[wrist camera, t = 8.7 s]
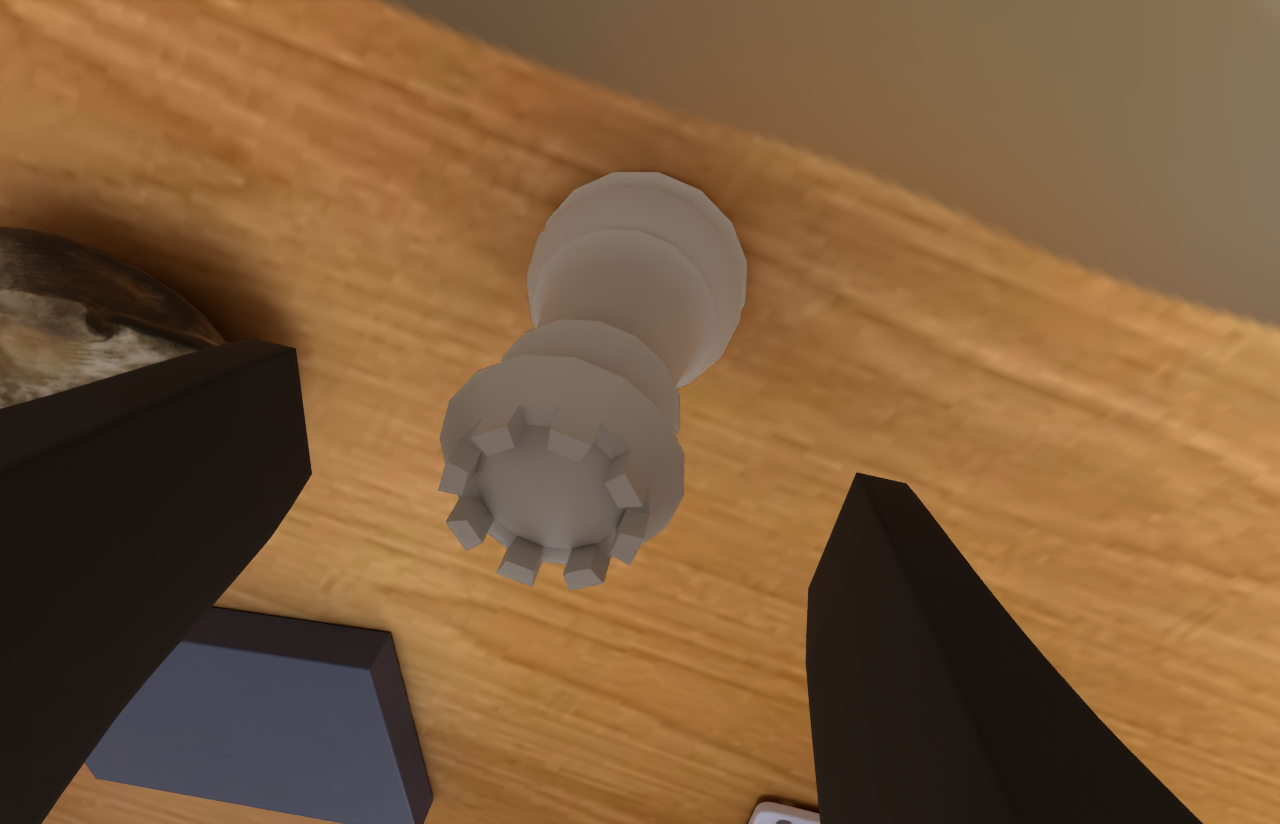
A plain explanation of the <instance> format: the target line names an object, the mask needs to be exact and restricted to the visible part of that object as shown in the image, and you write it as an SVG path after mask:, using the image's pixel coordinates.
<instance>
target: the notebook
mask: <svg viewBox="0 0 1280 824" xmlns="http://www.w3.org/2000/svg"><path fill="white" fill-rule="evenodd" d="M85 764H86V765H87V767H88V768H89V770H90V771H91V772H92V774H93V775H94V777H95V778H96V779H101V780H107V781H112V782H118V783H123V784H129V785H134V786H140V787H145V788H151V789H156V790H162V791H167V792H173V793H178V794H184V795H189V796H195V797H200V798H206V799H211V800H217V801H222V802H228V803H233V804H239V805H244V806H250V807H255V808H261V809H266V810H272V811H277V812H283V813H288V814H294V815H299V816H305V817H310V818H316V819H321V820H327V821H332V822H338V823H343V824H424V821H425V819H426V816H427V814H428V811H429V809H430V806H431V804H432V802H433V798H432V794H431V790H430V786H429V782H428V778H427V774H426V771H425V767H424V763H423V759H422V755H421V751H420V747H419V743H418V739H417V736H416V732H415V728H414V724H413V720H412V716H411V712H410V708H409V705H408V701H407V697H406V693H405V689H404V685H403V681H402V677H401V673H400V670H399V666H398V662H397V658H396V654H395V650H394V646H393V642H392V638H391V635H390V633H386V632H379V631H372V630H365V629H358V628H351V627H344V626H337V625H330V624H324V623H317V622H310V621H303V620H296V619H289V618H282V617H275V616H268V615H261V614H254V613H247V612H240V611H234V610H227V609H220V608H213V607H211V608H210V609H209V610H208V611H207V612H206V613H205V615H204V616H203V617H202V618H201V619H200V620H199V621H198V622H197V624H196V625H195V626H194V627H193V628H192V629H191V630H190V632H189V633H188V634H187V635H186V636H185V637H184V638H183V640H182V641H181V642H180V643H179V644H178V645H177V646H176V648H175V649H174V650H173V651H172V652H171V653H170V654H169V656H168V657H167V658H166V659H165V660H164V661H163V662H162V664H161V665H160V666H159V667H158V668H157V669H156V670H155V672H154V673H153V674H152V675H151V676H150V677H149V678H148V680H147V681H146V682H145V683H144V684H143V686H142V687H141V688H140V689H139V691H138V692H137V693H136V694H135V696H134V697H133V698H132V699H131V701H130V702H129V703H128V704H127V705H126V707H125V708H124V709H123V710H122V712H121V713H120V714H119V715H118V717H117V718H116V719H115V721H114V722H113V723H112V725H111V726H110V728H109V729H108V730H107V732H106V733H105V735H104V736H103V737H102V739H101V740H100V742H99V743H98V744H97V746H96V747H95V748H94V750H93V751H92V753H91V754H90V755H89V757H88V758H87V760H86V761H85Z"/></svg>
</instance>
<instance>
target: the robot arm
mask: <svg viewBox="0 0 1280 824" xmlns="http://www.w3.org/2000/svg"><path fill="white" fill-rule="evenodd" d="M311 475H312V471H311V463H310V455H309V447H308V439H307V432H306V424H305V416H304V408H303V401H302V393H301V385H300V377H299V370H298V362H297V354H296V348H292V347H287V346H283V345H278V344H274V343H269V342H265V341H260V340H256V339H251V338H250V339H245V340H240V341H235V342H230V343H226V344H222V345H218V346H214V347H210V348H206V349H203V350H199V351H196V352H192V353H188V354H185V355H182V356H178V357H175V358H171V359H168V360H165V361H161V362H158V363H155V364H151V365H148V366H145V367H141V368H138V369H135V370H131V371H128V372H125V373H122V374H118V375H115V376H112V377H108V378H105V379H102V380H98V381H95V382H92V383H88V384H85V385H82V386H78V387H75V388H72V389H69V390H65V391H62V392H59V393H55V394H52V395H48V396H45V397H41V398H38V399H34V400H30V401H27V402H23V403H20V404H16V405H12V406H9V407H5V408H1V409H0V824H42V822H43V821H44V819H45V818H46V816H47V815H48V813H49V812H50V810H51V809H52V807H53V806H54V804H55V803H56V802H57V800H58V799H59V797H60V796H61V794H62V793H63V792H64V790H65V789H66V787H67V786H68V785H69V783H70V782H71V780H72V779H73V778H74V776H75V775H76V773H77V772H78V771H79V769H80V768H81V767H82V765H83V764H84V762H85V761H86V760H87V758H88V757H89V755H90V754H91V753H92V751H93V750H94V748H95V747H96V746H97V744H98V743H99V742H100V740H101V739H102V737H103V736H104V735H105V733H106V732H107V730H108V729H109V728H110V726H111V725H112V723H113V722H114V721H115V719H116V718H117V717H118V715H119V714H120V713H121V712H122V710H123V709H124V708H125V707H126V705H127V704H128V703H129V702H130V701H131V699H132V698H133V697H134V696H135V694H136V693H137V692H138V691H139V689H140V688H141V687H142V686H143V684H144V683H145V682H146V681H147V680H148V678H149V677H150V676H151V675H152V674H153V673H154V672H155V670H156V669H157V668H158V667H159V666H160V665H161V664H162V662H163V661H164V660H165V659H166V658H167V657H168V656H169V654H170V653H171V652H172V651H173V650H174V649H175V648H176V646H177V645H178V644H179V643H180V642H181V641H182V640H183V638H184V637H185V636H186V635H187V634H188V633H189V632H190V630H191V629H192V628H193V627H194V626H195V625H196V624H197V622H198V621H199V620H200V619H201V618H202V617H203V616H204V615H205V613H206V612H207V611H208V610H209V609H210V608H211V607H212V605H213V604H214V603H215V602H216V601H217V600H218V599H219V597H220V596H221V595H222V594H223V593H224V592H225V591H226V589H227V588H228V587H229V586H230V585H231V584H232V582H233V581H234V580H235V579H236V578H237V577H238V575H239V574H240V573H241V572H242V571H243V570H244V568H245V567H246V566H247V565H248V564H249V563H250V561H251V560H252V559H253V558H254V557H255V556H256V554H257V553H258V552H259V551H260V550H261V549H262V547H263V546H264V545H265V544H266V543H267V541H268V540H269V539H270V538H271V537H272V535H273V534H274V532H275V531H276V529H277V528H278V526H279V525H280V523H281V522H282V520H283V519H284V517H285V516H286V514H287V513H288V511H289V510H290V508H291V507H292V505H293V504H294V502H295V500H296V499H297V497H298V496H299V494H300V492H301V491H302V489H303V488H304V486H305V484H306V483H307V481H308V480H309V478H310V476H311ZM806 671H807V684H808V696H809V707H810V719H811V730H812V741H813V751H814V762H815V773H816V783H817V794H818V805H819V813H815V812H811V811H807V810H803V809H799V808H795V807H791V806H787V805H783V804H778V803H774V802H762V803H760V804H758V805H757V806H756V808H755V810H754V812H753V814H752V817H751V819H750V821H749V823H748V824H1203V823H1202V822H1201V821H1200V820H1199V819H1198V818H1197V817H1196V816H1195V815H1194V814H1193V813H1192V812H1191V811H1190V810H1189V809H1188V808H1187V807H1186V806H1185V805H1184V804H1183V803H1182V802H1181V801H1180V800H1179V799H1178V798H1177V797H1176V796H1175V795H1174V794H1173V793H1172V792H1171V791H1170V790H1169V789H1168V788H1167V787H1166V786H1165V785H1164V784H1163V783H1162V782H1161V781H1160V780H1159V779H1158V778H1157V777H1156V776H1155V775H1154V774H1153V773H1152V772H1151V771H1150V770H1149V769H1148V768H1147V767H1146V766H1145V765H1144V764H1143V763H1142V762H1141V761H1140V760H1139V759H1138V758H1137V757H1136V756H1135V755H1134V754H1133V753H1132V752H1131V751H1130V750H1129V749H1128V748H1127V747H1126V746H1125V745H1124V744H1123V743H1122V742H1121V741H1120V740H1119V739H1118V738H1117V737H1116V736H1115V735H1114V734H1113V732H1112V731H1111V730H1110V729H1109V728H1108V727H1107V726H1106V725H1105V724H1104V723H1103V722H1102V721H1101V720H1100V719H1099V718H1098V716H1097V715H1096V714H1095V713H1094V712H1093V711H1092V710H1091V709H1090V708H1089V707H1088V705H1087V704H1086V703H1085V702H1084V701H1083V700H1082V699H1081V698H1080V696H1079V695H1078V694H1077V693H1076V692H1075V691H1074V690H1073V688H1072V687H1071V686H1070V685H1069V684H1068V683H1067V682H1066V681H1065V679H1064V678H1063V677H1062V676H1061V675H1060V674H1059V673H1058V672H1057V670H1056V669H1055V668H1054V667H1053V666H1052V665H1051V664H1050V663H1049V661H1048V660H1047V659H1046V658H1045V657H1044V656H1043V654H1042V653H1041V652H1040V651H1039V650H1038V649H1037V647H1036V646H1035V645H1034V644H1033V643H1032V641H1031V640H1030V639H1029V638H1028V637H1027V635H1026V634H1025V633H1024V632H1023V631H1022V629H1021V628H1020V627H1019V626H1018V625H1017V623H1016V622H1015V621H1014V620H1013V619H1012V617H1011V616H1010V615H1009V614H1008V612H1007V611H1006V610H1005V609H1004V607H1003V606H1002V605H1001V604H1000V602H999V601H998V600H997V599H996V597H995V596H994V595H993V594H992V592H991V591H990V590H989V589H988V587H987V586H986V585H985V584H984V582H983V581H982V580H981V578H980V577H979V576H978V575H977V573H976V572H975V571H974V569H973V568H972V567H971V566H970V564H969V563H968V562H967V560H966V559H965V558H964V557H963V555H962V554H961V553H960V551H959V550H958V549H957V547H956V546H955V545H954V543H953V542H952V541H951V540H950V538H949V537H948V536H947V534H946V533H945V532H944V530H943V529H942V528H941V526H940V525H939V524H938V523H937V521H936V520H935V519H934V517H933V516H932V515H931V513H930V512H929V511H928V510H927V508H926V507H925V506H924V504H923V503H922V502H921V501H920V499H919V498H918V497H917V496H916V494H915V493H914V492H913V491H912V490H911V488H910V487H909V486H908V485H907V484H906V483H902V482H897V481H893V480H888V479H884V478H879V477H875V476H870V475H866V474H861V473H857V472H856V475H855V477H854V480H853V482H852V485H851V487H850V489H849V492H848V494H847V497H846V499H845V501H844V504H843V506H842V509H841V511H840V513H839V516H838V518H837V521H836V523H835V526H834V528H833V530H832V533H831V535H830V538H829V540H828V542H827V545H826V547H825V550H824V552H823V555H822V557H821V559H820V562H819V564H818V567H817V569H816V571H815V574H814V576H813V579H812V581H811V584H810V586H809V589H808V610H807V634H806Z"/></svg>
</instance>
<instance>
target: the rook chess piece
mask: <svg viewBox="0 0 1280 824" xmlns="http://www.w3.org/2000/svg"><path fill="white" fill-rule="evenodd" d="M746 280H747V260H746V258H745V255H744V253H743V250H742V247H741V245H740V242H739V239H738V237H737V234H736V232H735V229H734V226H733V224H732V222H731V221H730V220H729V219H728V218H727V217H726V216H725V215H724V214H723V213H722V212H721V211H720V210H719V209H718V207H717V206H716V205H715V204H714V203H713V202H712V201H711V200H710V199H709V198H708V197H707V196H706V195H705V194H704V193H703V192H702V191H701V190H699V189H697V188H695V187H692V186H690V185H688V184H685V183H683V182H681V181H678V180H676V179H674V178H671V177H669V176H667V175H664V174H662V173H660V172H613V173H610V174H608V175H606V176H603V177H601V178H599V179H597V180H594V181H592V182H590V183H588V184H585V185H583V186H581V187H578V188H576V189H574V191H573V192H572V193H571V194H570V195H569V196H568V197H567V198H566V200H565V201H564V202H563V203H562V204H561V205H560V206H559V207H558V209H557V210H556V211H555V212H554V213H553V214H552V215H551V216H550V218H549V219H548V220H547V223H546V227H545V229H544V230H543V231H542V232H541V233H540V234H539V236H538V239H537V242H536V246H535V249H534V252H533V256H532V259H531V262H530V266H529V269H528V273H527V288H528V296H529V304H530V312H531V320H532V322H533V324H534V325H535V327H536V328H535V329H533V330H530V331H527V332H525V333H524V334H523V335H522V337H521V338H520V339H519V340H518V341H517V342H516V343H515V344H514V345H513V346H512V347H511V348H510V349H509V350H508V351H507V352H506V353H505V354H504V355H503V358H502V361H501V363H498V364H495V365H493V366H490V367H487V368H484V369H481V370H479V371H477V372H476V373H475V374H474V375H473V377H472V378H471V379H470V380H469V381H468V382H467V383H466V384H465V385H464V386H463V387H462V388H461V389H460V390H459V391H458V392H457V393H456V394H455V395H454V396H453V397H452V398H451V399H450V400H449V404H448V408H447V412H446V416H445V420H444V424H443V427H442V431H441V435H440V442H441V446H442V451H443V455H444V460H445V467H444V471H443V475H442V478H441V482H440V486H439V489H438V490H439V491H443V492H447V493H451V494H456V495H458V497H459V500H458V502H457V504H456V505H455V507H454V509H453V510H452V512H451V514H450V515H449V517H448V519H447V520H446V523H447V525H448V526H449V527H450V529H451V530H452V532H453V533H454V534H455V536H456V537H457V539H458V540H459V541H460V543H461V544H462V546H463V547H464V548H465V550H466V551H467V550H469V549H471V548H473V547H475V546H477V545H479V544H481V543H483V541H484V539H485V537H486V535H487V533H488V534H489V535H490V536H492V537H493V538H494V539H496V540H497V541H498V542H500V543H501V544H502V545H504V546H505V547H506V548H507V551H506V553H505V555H504V558H503V560H502V562H501V564H500V566H499V569H498V571H497V574H500V575H502V576H505V577H507V578H510V579H513V580H515V581H518V582H520V583H523V584H526V585H528V586H531V587H532V586H533V584H534V581H535V579H536V576H537V574H538V571H539V568H540V566H541V563H542V562H548V563H559V564H567V565H566V567H565V570H564V573H563V575H564V578H565V580H566V583H567V586H568V588H569V591H570V590H575V589H580V588H584V587H589V586H594V585H598V584H603V583H604V580H605V576H606V572H607V569H608V565H609V562H610V558H611V557H616V558H617V559H619V560H621V561H623V562H624V563H626V564H628V565H630V564H631V562H632V560H633V558H634V557H635V555H636V553H637V551H638V549H639V547H640V546H641V545H642V544H643V543H645V542H646V541H648V540H649V539H651V538H652V537H653V536H655V535H656V534H658V533H659V532H661V531H662V530H664V529H665V528H666V527H667V525H668V523H669V521H670V519H671V518H672V516H673V514H674V512H675V510H676V508H677V507H678V505H679V503H680V501H681V499H682V498H683V496H684V453H683V451H682V449H681V447H680V445H679V443H678V441H677V438H676V434H677V432H678V430H679V428H680V395H679V392H678V390H677V388H679V387H682V386H685V385H688V384H690V383H691V382H692V381H693V380H694V379H696V378H697V377H698V376H699V375H701V374H702V373H703V372H704V371H705V370H707V369H708V368H709V367H710V366H712V365H713V364H714V363H715V362H716V361H718V359H719V358H720V357H721V356H722V355H723V353H724V351H725V349H726V347H727V345H728V343H729V341H730V340H731V338H732V336H733V334H734V332H735V330H736V328H737V326H738V324H739V322H740V318H741V311H742V309H743V307H744V305H745V300H746Z"/></svg>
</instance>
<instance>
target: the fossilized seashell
mask: <svg viewBox="0 0 1280 824" xmlns="http://www.w3.org/2000/svg"><path fill="white" fill-rule="evenodd" d="M226 343H227V342H226V341H225V340H224V339H223V337H222V336H221V335H220V334H219V332H218V331H217V330H216V329H215V327H214V326H213V325H212V324H211V323H210V321H209V320H208V319H207V318H206V317H205V316H204V315H203V314H202V313H201V311H199V310H198V309H197V308H195V307H194V306H192V305H191V304H190V303H189V302H188V301H186V300H185V299H184V298H183V297H182V296H181V295H179V294H178V293H177V292H176V291H174V290H172V289H171V288H169V287H168V286H166V285H165V284H163V283H161V282H160V281H158V280H157V279H155V278H153V277H152V276H151V275H149V274H148V273H146V272H145V271H143V270H142V269H140V268H139V267H137V266H134V265H131V264H128V263H125V262H123V261H121V260H120V259H118V258H116V257H114V256H112V255H110V254H107V253H105V252H102V251H99V250H96V249H94V248H90V247H86V246H83V245H80V244H78V243H76V242H74V241H72V240H70V239H68V238H65V237H61V236H57V235H53V234H50V233H46V232H42V231H38V230H29V229H19V228H9V227H0V409H1V408H5V407H9V406H12V405H16V404H20V403H23V402H27V401H30V400H34V399H38V398H41V397H45V396H48V395H52V394H55V393H59V392H62V391H65V390H69V389H72V388H75V387H78V386H82V385H85V384H88V383H92V382H95V381H98V380H102V379H105V378H108V377H112V376H115V375H118V374H122V373H125V372H128V371H131V370H135V369H138V368H141V367H145V366H148V365H151V364H155V363H158V362H161V361H165V360H168V359H171V358H175V357H178V356H182V355H185V354H188V353H192V352H196V351H199V350H203V349H206V348H210V347H214V346H218V345H222V344H226Z"/></svg>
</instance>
